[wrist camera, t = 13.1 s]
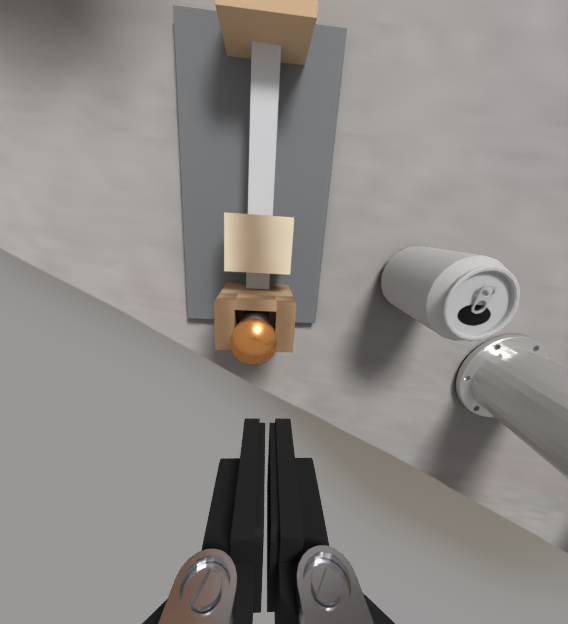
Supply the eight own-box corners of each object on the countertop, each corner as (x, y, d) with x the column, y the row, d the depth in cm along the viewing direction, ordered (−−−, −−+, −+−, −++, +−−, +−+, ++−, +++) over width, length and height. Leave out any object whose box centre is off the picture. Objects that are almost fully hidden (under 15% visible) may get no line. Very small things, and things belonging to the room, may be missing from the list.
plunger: (275, 301, 26) (278, 322, 20) (273, 336, 27) (275, 365, 21) (237, 299, 25) (229, 320, 20) (236, 334, 27) (229, 364, 21)
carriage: (289, 218, 28) (294, 217, 23) (286, 266, 30) (290, 274, 25) (231, 214, 28) (224, 212, 23) (231, 263, 29) (224, 271, 24)
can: (371, 303, 33) (426, 345, 22) (386, 241, 31) (455, 252, 20) (428, 309, 34) (509, 352, 23) (446, 249, 32) (546, 264, 21)
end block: (288, 285, 31) (296, 305, 23) (286, 322, 32) (292, 352, 25) (226, 282, 30) (214, 301, 23) (226, 319, 32) (214, 350, 24)
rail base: (343, 35, 25) (372, -32, 18) (313, 320, 34) (325, 344, 27) (176, 14, 24) (142, -68, 17) (189, 315, 32) (170, 339, 26)
